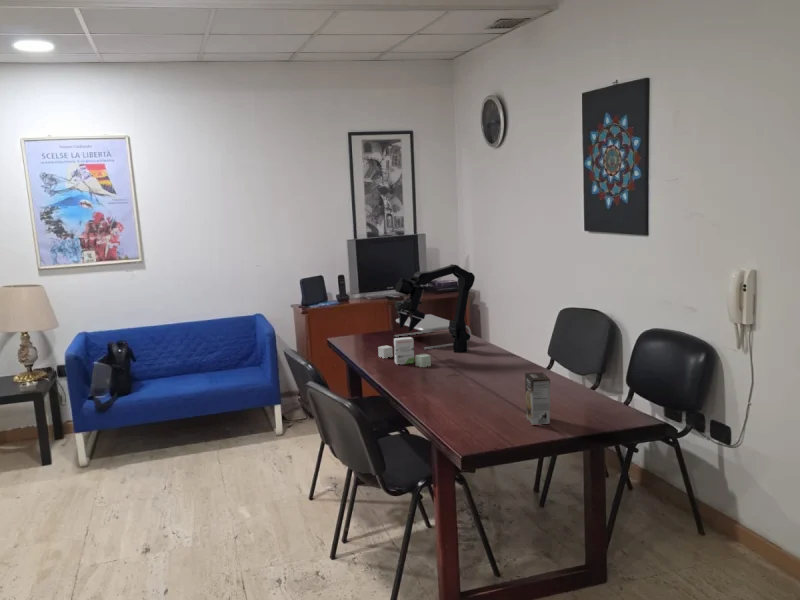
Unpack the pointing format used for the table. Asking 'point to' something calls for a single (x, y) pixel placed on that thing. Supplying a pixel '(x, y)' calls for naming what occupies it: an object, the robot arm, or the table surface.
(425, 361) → the sage block
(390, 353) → the grey block
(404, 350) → the ink box
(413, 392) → the table surface
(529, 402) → the coffee box
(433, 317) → the monitor stand
